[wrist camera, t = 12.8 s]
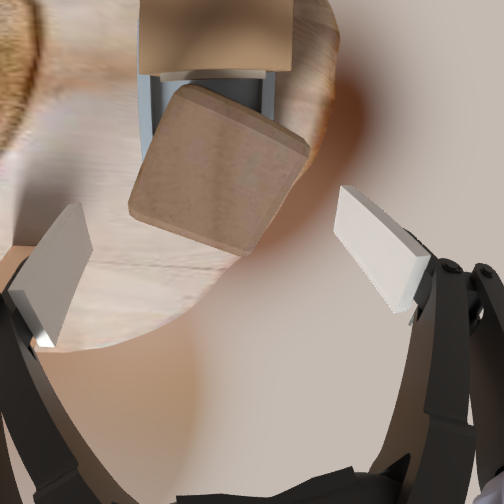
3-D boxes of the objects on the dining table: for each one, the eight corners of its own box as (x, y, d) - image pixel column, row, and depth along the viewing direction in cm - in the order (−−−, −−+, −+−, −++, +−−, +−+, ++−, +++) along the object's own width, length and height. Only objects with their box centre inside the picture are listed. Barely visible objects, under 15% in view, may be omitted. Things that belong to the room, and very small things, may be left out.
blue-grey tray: (143, 24, 27) (137, 19, 23) (269, 21, 29) (277, 15, 26) (151, 193, 40) (147, 205, 36) (263, 186, 42) (269, 197, 39)
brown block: (169, 19, 26) (143, -39, 9) (244, 17, 27) (294, -38, 11) (169, 82, 31) (138, 83, 14) (242, 79, 32) (290, 79, 16)
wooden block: (155, 150, 35) (121, 220, 19) (188, 80, 31) (179, 78, 15) (224, 178, 39) (249, 265, 23) (260, 113, 35) (320, 148, 18)
